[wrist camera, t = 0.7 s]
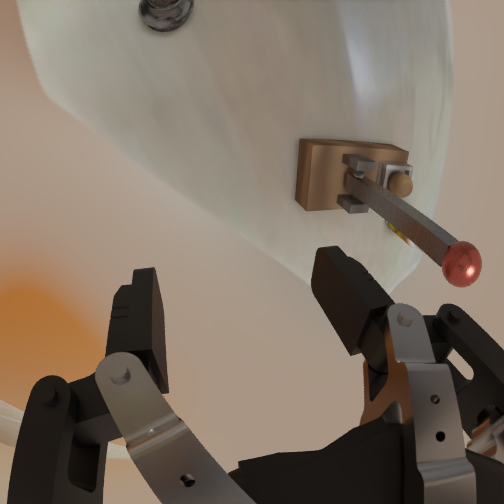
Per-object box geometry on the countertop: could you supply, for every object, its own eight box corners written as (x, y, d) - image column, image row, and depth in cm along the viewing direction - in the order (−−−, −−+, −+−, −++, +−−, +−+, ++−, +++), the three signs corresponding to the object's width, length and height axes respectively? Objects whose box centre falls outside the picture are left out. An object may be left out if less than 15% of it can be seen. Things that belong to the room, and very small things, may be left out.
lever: (338, 195, 36) (455, 301, 19) (342, 166, 34) (474, 261, 17) (362, 194, 37) (477, 291, 20) (367, 167, 35) (495, 254, 18)
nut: (391, 165, 36) (408, 173, 33) (405, 175, 37) (421, 184, 34) (380, 186, 37) (395, 196, 34) (394, 195, 39) (409, 205, 36)
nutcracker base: (295, 199, 41) (317, 223, 35) (299, 138, 36) (326, 152, 30) (383, 195, 44) (411, 215, 38) (392, 144, 39) (424, 159, 33)
